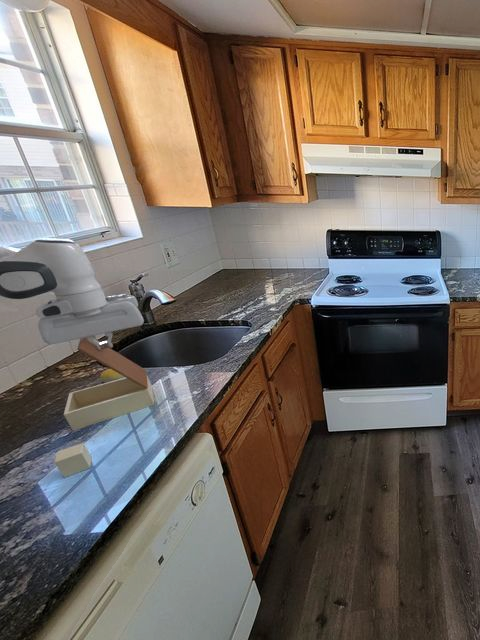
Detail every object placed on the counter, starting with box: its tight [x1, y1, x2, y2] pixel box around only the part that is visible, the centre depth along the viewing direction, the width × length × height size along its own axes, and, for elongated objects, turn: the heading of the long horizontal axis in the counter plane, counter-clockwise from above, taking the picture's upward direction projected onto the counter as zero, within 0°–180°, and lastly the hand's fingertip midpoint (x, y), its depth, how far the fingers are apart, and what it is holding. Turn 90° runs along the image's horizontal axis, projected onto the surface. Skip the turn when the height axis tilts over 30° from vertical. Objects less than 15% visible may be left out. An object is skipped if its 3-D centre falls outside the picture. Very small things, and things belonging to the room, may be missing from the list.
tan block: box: [54, 442, 93, 478], centre depth 83 cm, size 4×4×4 cm
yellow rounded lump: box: [99, 368, 126, 384], centre depth 121 cm, size 8×9×4 cm
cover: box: [76, 337, 148, 389], centre depth 103 cm, size 18×14×1 cm
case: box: [63, 375, 155, 432], centre depth 105 cm, size 18×14×5 cm
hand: (106, 348), depth 101 cm, fingers closed
